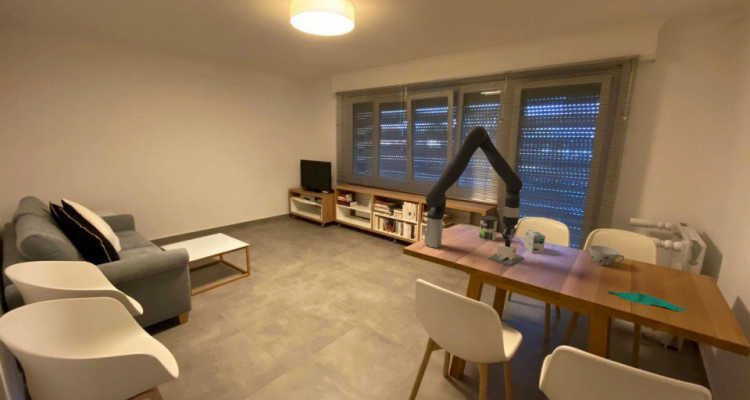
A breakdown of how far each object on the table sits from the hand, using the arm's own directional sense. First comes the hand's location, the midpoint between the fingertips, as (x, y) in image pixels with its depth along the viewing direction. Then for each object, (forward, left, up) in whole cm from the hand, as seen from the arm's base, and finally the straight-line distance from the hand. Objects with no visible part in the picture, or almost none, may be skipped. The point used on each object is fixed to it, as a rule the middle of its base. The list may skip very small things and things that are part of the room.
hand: (507, 246), depth 167 cm
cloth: (+58, +2, -8) cm, 59 cm away
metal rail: (0, 0, -7) cm, 7 cm away
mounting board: (0, 0, -7) cm, 7 cm away
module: (0, 0, -6) cm, 6 cm away
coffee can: (-24, +24, -7) cm, 35 cm away
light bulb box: (+4, +26, -8) cm, 27 cm away
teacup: (+37, +34, -7) cm, 51 cm away
